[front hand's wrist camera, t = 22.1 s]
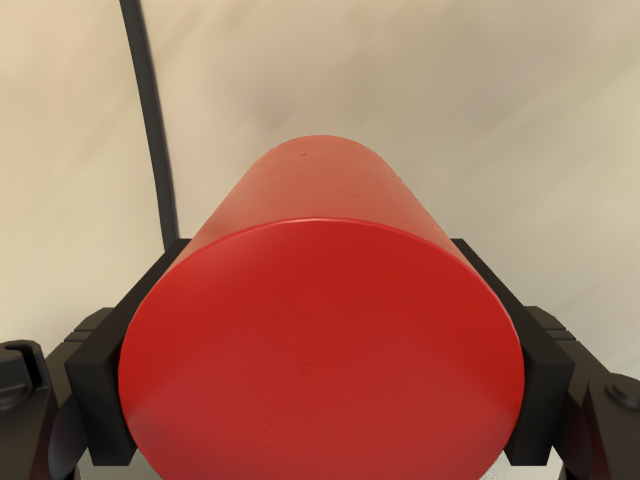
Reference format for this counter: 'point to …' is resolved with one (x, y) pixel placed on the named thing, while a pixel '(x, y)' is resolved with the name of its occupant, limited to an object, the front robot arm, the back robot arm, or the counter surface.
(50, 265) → the counter surface
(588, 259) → the counter surface
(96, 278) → the counter surface
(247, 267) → the tin
